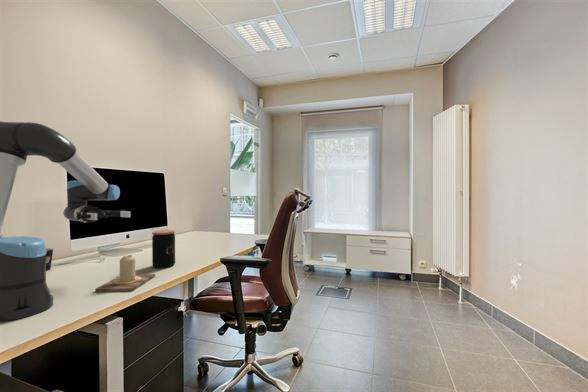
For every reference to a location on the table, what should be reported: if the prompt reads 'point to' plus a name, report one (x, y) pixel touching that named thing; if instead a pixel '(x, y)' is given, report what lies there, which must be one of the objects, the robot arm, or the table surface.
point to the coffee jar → (163, 248)
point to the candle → (127, 268)
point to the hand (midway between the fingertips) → (113, 215)
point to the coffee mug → (49, 258)
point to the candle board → (125, 284)
